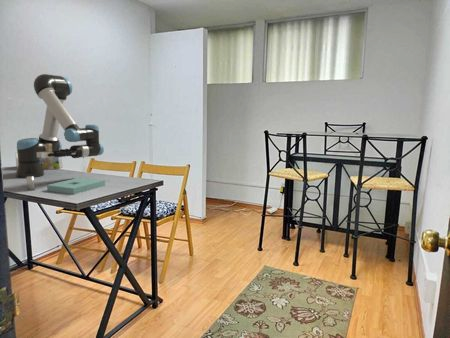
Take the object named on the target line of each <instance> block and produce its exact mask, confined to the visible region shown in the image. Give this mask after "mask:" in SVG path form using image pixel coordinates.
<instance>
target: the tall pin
mask: <svg viewBox="0 0 450 338" xmlns="http://www.w3.org/2000/svg"><path fill="white" fill-rule="evenodd" d="M45 147H46V152H52V144H45ZM46 162H47V169H46V170H49V171H50V170H55V169H54V168H53V157H49V158H46Z"/></svg>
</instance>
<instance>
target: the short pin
mask: <svg viewBox="0 0 450 338" xmlns="http://www.w3.org/2000/svg"><path fill="white" fill-rule="evenodd" d="M26 185H27V191H34V190H36V186H35V185H36V184H35V177H34V176H27V178H26Z"/></svg>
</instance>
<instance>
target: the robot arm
mask: <svg viewBox="0 0 450 338" xmlns="http://www.w3.org/2000/svg"><path fill="white" fill-rule="evenodd" d="M33 90H34V92H35V94H36V96H37V97H38V98H39V99H40V100H43V102H44V104H45V105H46V110H45V115H44V121H43V122H44V123H43V127H42V128H43V129H42V133H41V134H39V135H38V137H30V138H28V137H27V138H22V139H19V140H17V141H16V150H17V151H16V152H17V153H18V167H16V173H15V177H16V178H21V179H22V178H24V179H25V178H26V179H27V176H34V178H36V177H41V176H45V171H44V169H43V168H42V166H41V164H40V158H49V157H63V158H64V157H71V158H72V159H80V158H82V159H85V158H88V157H89V158H90V157H97V156H101V155H103V153H104V151H105V149H104V146H103V144H102V143H100V131H99V129H100V128H99V125H97V124H86V125H85V127H81V128H80V127H79V125H78V123H76V122H75V120H74V119H73V116H71V114H70V113H69V111H68V110H67V109H66V107H65V106H64V102H65V101H66V100H67V98H68V96H70V95H71V94H72V92H73V84H72V83H71V80H70V79H69V78H68V77H64V76H62V75H53V74H49V73H48V74H46V73H43V74H39V75H37V76H36V78H35V79H34V80H33ZM60 126H61V128H62V129H63V130H64V132H63V136H64V139H65V140H66V141H67V142H70V143H77V142H85V144H77V145H71V146H70V147H69V148H65V149H64V148H63V149H62V142H61V140H60V137H59V136H58V133H59V127H60ZM45 144H52V152H46V147H45Z"/></svg>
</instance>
